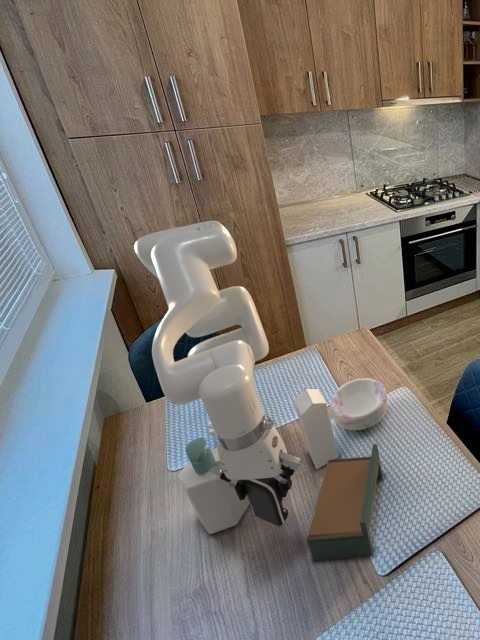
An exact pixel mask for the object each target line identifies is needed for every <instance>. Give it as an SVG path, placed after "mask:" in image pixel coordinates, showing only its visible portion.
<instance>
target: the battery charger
mask: <svg viewBox="0 0 480 640" xmlns="http://www.w3.org/2000/svg"><path fill="white" fill-rule="evenodd" d="M278 483H279V481H278V480H276V479H275V478H274V477H271V478H260V479H246V480H245V482H244V489H245V491H246V494H247V497H248V499H249V501H250V504H249V505H251V508H252V511H253V513H254V517H256V518H259V519H260V520H263V521H265V522H267V523H269V524H272V525H274V526H277V527H282V526H283V525H284V524H285V522H286V521H287V519H288V517H289V514H290V513H289V510H288V509H287V508H285V507H283V499H284V497H282V495H281V493H280V490H279V487H278Z"/></svg>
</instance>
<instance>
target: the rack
mask: <svg viewBox="0 0 480 640" xmlns="http://www.w3.org/2000/svg"><path fill="white" fill-rule="evenodd" d="M379 452H380V451H379V447H378V443H374V444H372V447H371V453H370V456H359V457H347V458H346V457H344V458H336V459H332V460H328V463H327V464H326V468H325V472H324V475H323V478H322V483H321V487H320V490H319V494H318V498H317V501H316V505H315V509H314V511H313V516H312V520H311V524H310V527H309V531H308V533H307V534H308V535H307V538H306V542H307V545H308V548H309V551H310V554H311V556H312V560H313V561H323V560H334V559H345V558H355V557H367V556H373V554H374V547H373V543H372V539H371V534H370V531H371V522H372V517H373V509H374V503H375V494H376V489H377V481H378V480H382V479H383V476H384V475H383V468H382V463H381V458H380V453H379Z"/></svg>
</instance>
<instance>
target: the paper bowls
mask: <svg viewBox="0 0 480 640" xmlns="http://www.w3.org/2000/svg"><path fill="white" fill-rule="evenodd" d="M388 403H389V402H388V393H387V389H386V387H385V386H384V385H383V383H381V382H380V380H379V381H378V380H376V379H374V378H367V377H361V378H355V379H353V380H352V379H351V380H349V381H347V382H345V383H344V384H342V385H340V386H339V387H338V388H337V390H336V391H335V392H334V393H333V395H332V396H331V399H330V409H331V414H332V417H333V420H334V422H335V424H337V426H338V427H340V428H341V429H344V430H346V431H351V432H352V431H353V432H355V431H364V430H366V429H369V428H371V427H373V426H375V425H376V424H378V423H379V422H380V421H382V420H383V418H384V416H385V415H386V413H387V411H388V407H389V406H388V405H389V404H388Z"/></svg>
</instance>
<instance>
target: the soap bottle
mask: <svg viewBox="0 0 480 640" xmlns="http://www.w3.org/2000/svg"><path fill="white" fill-rule="evenodd" d="M207 442H208V441H207V439H206V438H205V437H197V438H194V439H193V440H191V441H190V442H189V443H188V444H187V445H186V446H185V453H186V456H187V458H188V462H187V464H186V465H185V466H184V467H183V468H182V470H181V471H180V472H179V473H178V475H177V478H178V480H179V482H180V484H181V487H182V488H183V490H184V492H185V494H186V495H187V497H188V500H189V501H190V503H191V505H192V507H193V509H194V511H195V514H196V515H197V517H198V519H199V521H200V522H201V524H202V526H203V527H204V529H205V530H206V532H207V533H208V534H209V535H212V534H214V533H218V532H221V531H223V530H226V529H229V528H232V527H234V526H235V527H236V526H237V524H238V523H239V522H240V520H241V519H242V517H243V515H244V514H245V512H246V511H247V510H248V507H249V506H250V505H251V504H250V501H249V499H248V497H247V495H246V497H245V499H244V500H240V499H239V497H238V495H237V493H236V491H235V488H234V487H230V486H229V482H226V481H224V480H222V479H220V476H217V475H215V474H213V473H211V472H210V471H211V469H212V467H213V465H214V464H215V463H217V462H218V461H219V456H218V447H217V446H216V447H214V448H211V449H210V448H208V447H207V448H206V445H207Z"/></svg>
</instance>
